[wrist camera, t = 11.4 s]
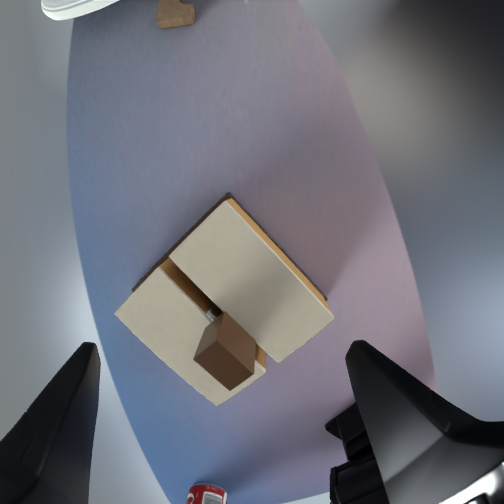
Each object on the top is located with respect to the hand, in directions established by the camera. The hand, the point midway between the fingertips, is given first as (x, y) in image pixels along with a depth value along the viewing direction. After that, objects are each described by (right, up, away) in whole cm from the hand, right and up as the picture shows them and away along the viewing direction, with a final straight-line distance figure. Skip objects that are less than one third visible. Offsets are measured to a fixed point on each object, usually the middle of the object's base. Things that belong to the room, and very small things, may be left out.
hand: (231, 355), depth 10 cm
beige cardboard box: (-1, 0, +16) cm, 16 cm away
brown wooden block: (-1, -1, +16) cm, 16 cm away
